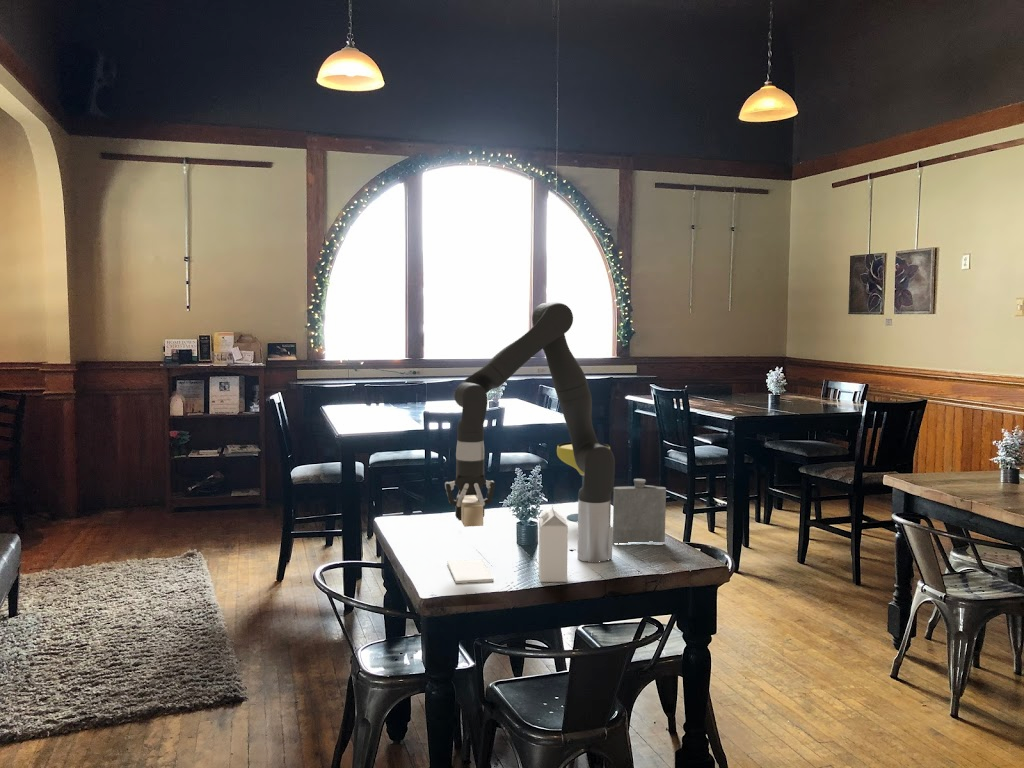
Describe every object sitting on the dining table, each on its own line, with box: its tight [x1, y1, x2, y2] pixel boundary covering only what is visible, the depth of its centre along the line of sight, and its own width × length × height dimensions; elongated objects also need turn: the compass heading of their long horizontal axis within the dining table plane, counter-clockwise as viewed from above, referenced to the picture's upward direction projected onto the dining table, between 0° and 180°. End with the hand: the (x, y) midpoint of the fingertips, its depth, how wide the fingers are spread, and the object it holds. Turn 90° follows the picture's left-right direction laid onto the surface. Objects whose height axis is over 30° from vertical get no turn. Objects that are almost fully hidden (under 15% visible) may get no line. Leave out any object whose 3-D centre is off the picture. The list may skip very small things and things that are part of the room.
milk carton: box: [538, 504, 569, 583], centre depth 226 cm, size 7×7×19 cm
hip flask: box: [612, 478, 667, 544], centre depth 259 cm, size 16×4×20 cm, turn 92°
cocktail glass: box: [556, 441, 611, 522], centre depth 289 cm, size 18×18×25 cm
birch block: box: [460, 494, 484, 528], centre depth 229 cm, size 5×5×14 cm
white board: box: [447, 559, 495, 584], centre depth 231 cm, size 10×17×1 cm, turn 12°
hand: (469, 519), depth 229 cm, fingers closed on birch block, 5 cm apart
